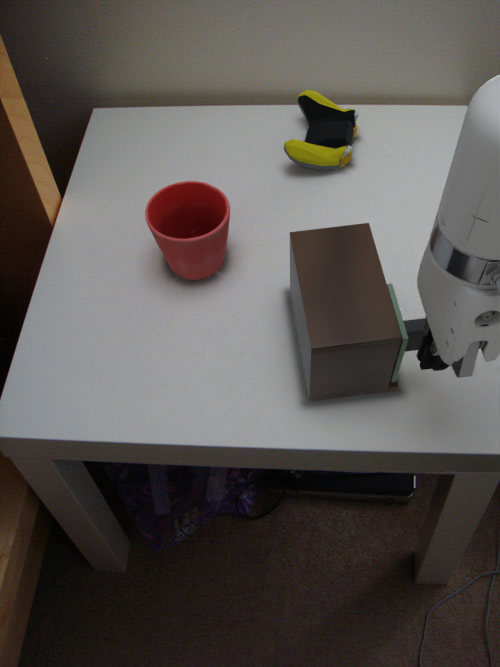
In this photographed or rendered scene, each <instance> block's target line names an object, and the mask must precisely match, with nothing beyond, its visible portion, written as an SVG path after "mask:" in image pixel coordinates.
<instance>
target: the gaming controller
mask: <svg viewBox="0 0 500 667" xmlns="http://www.w3.org/2000/svg"><path fill="white" fill-rule="evenodd" d="M297 105H298V107H299V109H300V111H301V113H302V115H303V117H304V119H305V122H306V124H307V126H308V127H307V130H306V133H305V134H306V135H305V137H304V141H303V140H300V139H296V138H291V139H289V140H285V141H284V143H283V151H284V153H285V154H286V156H287V157H288V158H289V160H290V161H292V162H294V163H295V164H297V165H298V166H300V167H305V168H311V169H316V170H327V171H331V170H337V169H341V168H344V167H345V166H346V165H347V164H348V163H350V162H351V160H352V156H353V155H352V154H353V151H352V148H353V146H352V145H353V140H354V138H356V137H357V131H358V130H357V129H358V124H357V121H358V118H359V116H360V111H359V110H356V109H355V108H352V107H351V108H350V107H349V108H342V107H340V106H339V105H337V103H335V102H333V101H331V100H330V99H329V98H326V97H325V96H324V95H323V94H321V93H319V92H318V91H315V90H311V89H305V90H303V91H302V92H300V93H299V94H298V96H297Z"/></svg>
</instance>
